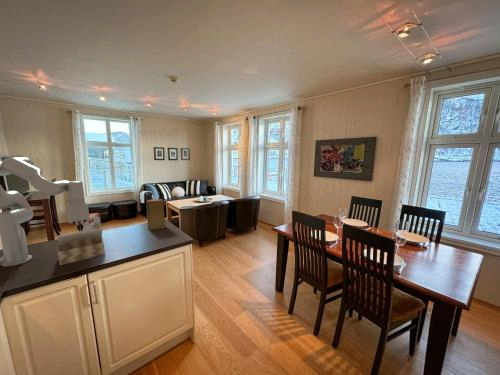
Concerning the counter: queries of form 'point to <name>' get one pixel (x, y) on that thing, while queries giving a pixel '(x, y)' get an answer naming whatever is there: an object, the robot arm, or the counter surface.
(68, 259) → the storage box
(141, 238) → the counter surface
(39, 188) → the robot arm
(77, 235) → the lid
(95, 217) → the cracker box
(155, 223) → the food packaging
